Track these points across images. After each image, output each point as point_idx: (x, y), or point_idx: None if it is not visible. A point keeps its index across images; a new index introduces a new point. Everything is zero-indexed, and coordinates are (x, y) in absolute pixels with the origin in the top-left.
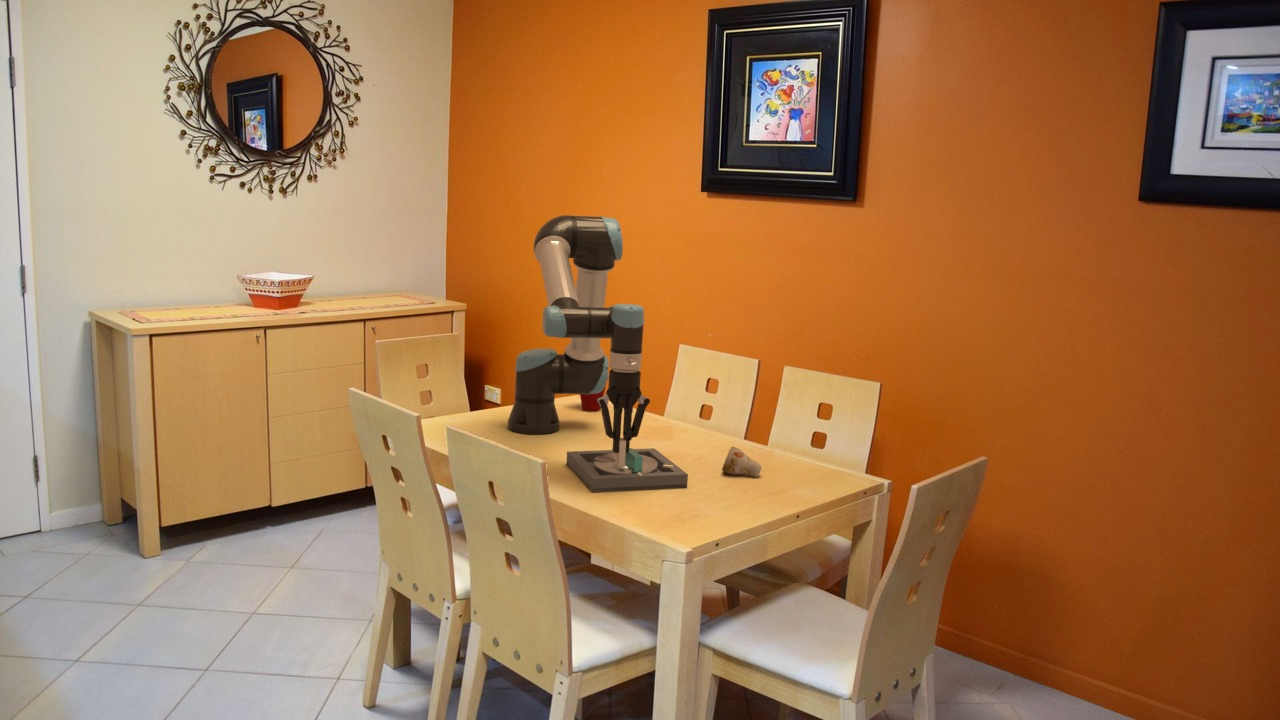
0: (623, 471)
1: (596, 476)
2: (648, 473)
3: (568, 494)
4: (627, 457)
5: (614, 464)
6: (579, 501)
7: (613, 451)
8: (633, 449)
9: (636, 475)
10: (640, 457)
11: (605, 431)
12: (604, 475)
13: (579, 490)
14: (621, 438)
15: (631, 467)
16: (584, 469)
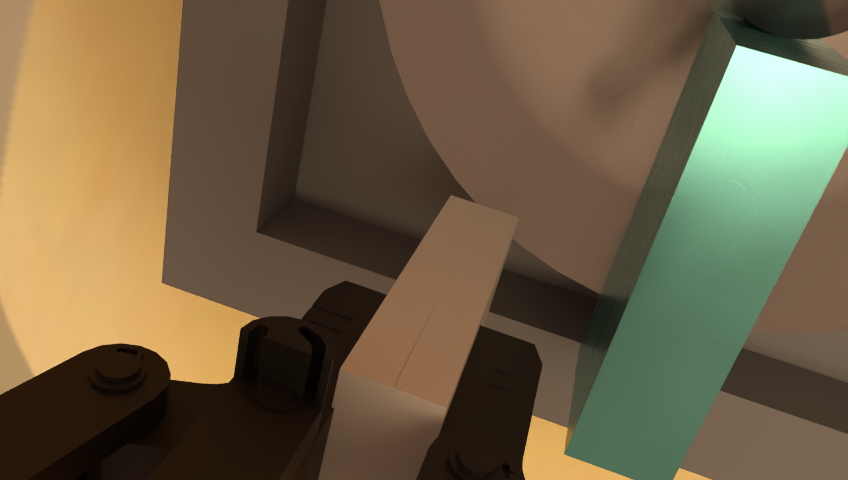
0: (524, 241)
1: (209, 247)
2: (719, 407)
3: (58, 183)
4: (668, 168)
5: (566, 7)
6: (86, 329)
7: (342, 291)
8: (833, 160)
9: (562, 394)
10: (635, 476)
11: (34, 393)
12: (287, 255)
13: (155, 143)
14: (401, 428)
15: (606, 288)
16: (184, 1)
